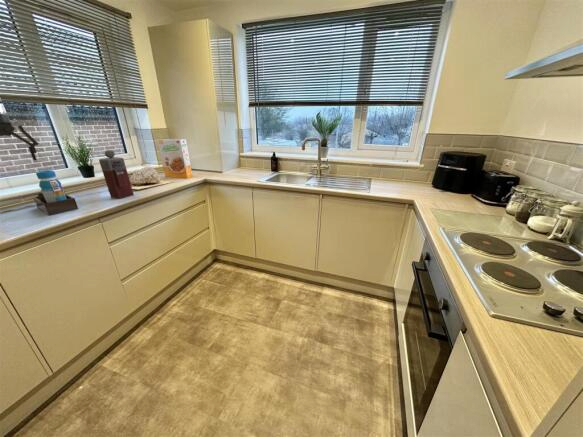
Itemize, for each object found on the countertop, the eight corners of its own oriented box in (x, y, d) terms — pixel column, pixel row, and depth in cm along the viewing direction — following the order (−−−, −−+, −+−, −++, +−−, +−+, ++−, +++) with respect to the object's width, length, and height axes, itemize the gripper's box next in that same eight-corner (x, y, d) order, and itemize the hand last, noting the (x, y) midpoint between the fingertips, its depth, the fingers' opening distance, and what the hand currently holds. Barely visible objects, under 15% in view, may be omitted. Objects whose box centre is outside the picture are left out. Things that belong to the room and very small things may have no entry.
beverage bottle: (47, 212, 122) (30, 174, 114) (51, 208, 129) (36, 171, 121) (69, 209, 126) (53, 171, 118) (72, 205, 133) (58, 169, 125)
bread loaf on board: (151, 179, 192) (154, 162, 184) (170, 194, 189) (174, 177, 181) (114, 186, 168) (117, 166, 160) (135, 203, 165) (139, 184, 157)
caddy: (37, 207, 132) (30, 191, 129) (65, 201, 141) (58, 186, 138) (49, 215, 120) (41, 197, 116) (78, 208, 129) (71, 191, 125)
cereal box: (165, 177, 200) (157, 139, 189) (171, 175, 206) (163, 139, 195) (187, 178, 194) (180, 139, 182) (192, 176, 199) (185, 139, 188)
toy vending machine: (122, 199, 144) (107, 151, 133) (110, 197, 148) (95, 150, 137) (136, 195, 151) (123, 149, 141) (124, 193, 155) (111, 149, 145)
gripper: (-51, 113, 96) (-24, 166, 104) (35, 114, 115) (52, 159, 123) (-52, 113, 100) (-27, 164, 108) (31, 114, 119) (48, 158, 127)
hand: (15, 161), depth 115 cm, fingers open, 13 cm apart
